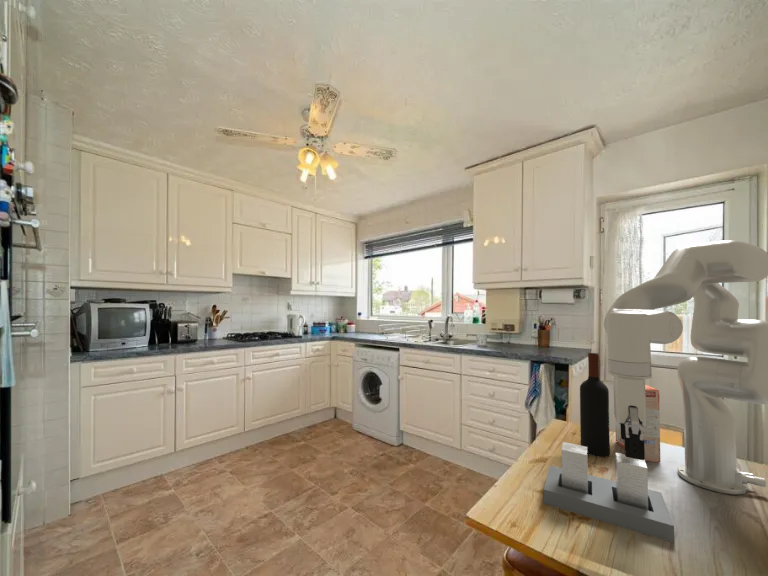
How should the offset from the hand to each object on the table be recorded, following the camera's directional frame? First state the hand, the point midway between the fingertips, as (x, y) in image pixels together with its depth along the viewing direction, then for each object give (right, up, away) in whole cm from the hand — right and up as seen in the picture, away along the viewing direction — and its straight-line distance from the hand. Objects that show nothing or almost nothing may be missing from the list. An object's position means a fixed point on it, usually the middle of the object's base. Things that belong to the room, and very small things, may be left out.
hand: (632, 448), depth 71 cm
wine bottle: (+12, -16, +31) cm, 37 cm away
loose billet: (-1, -13, -1) cm, 13 cm away
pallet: (-5, -14, +2) cm, 15 cm away
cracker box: (+25, -16, +31) cm, 43 cm away
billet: (-10, -13, +5) cm, 17 cm away
